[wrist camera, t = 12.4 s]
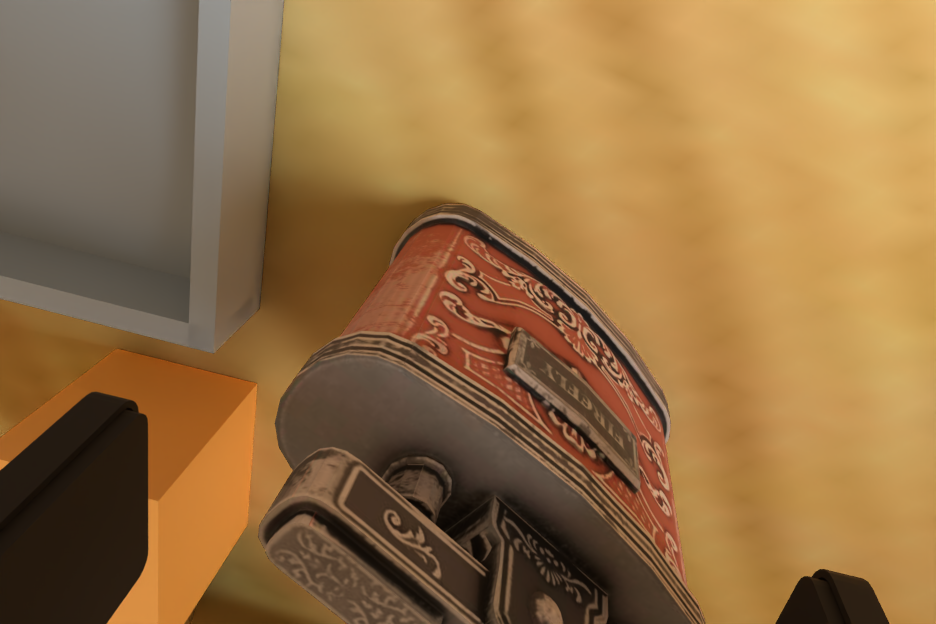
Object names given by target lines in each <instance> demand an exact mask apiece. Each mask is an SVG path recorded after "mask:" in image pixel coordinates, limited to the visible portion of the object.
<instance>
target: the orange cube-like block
mask: <svg viewBox="0 0 936 624" xmlns="http://www.w3.org/2000/svg"><path fill="white" fill-rule="evenodd" d="M91 392H100V393H104V394H108V395H113V396H117V397H121V398H125V399H129V400H132V401H134V402H136V404H137V406H138V411H139V413H142V414H145V415H146V416H147V418H148V557H147V561H146V564H145V567H144V570H143V572H142V574H141V576H140V577H139V579H138V580H137V582H136V583H135V585H134V586H133V587H132V589H131V590H130V592H129V593H128V594H127V596H126V597H125V599H124V600H123V601H122V603H121V604H120V606H119V607H118V609H117V610H116V611H115V613H114V614H113V616H112V617H111V618H110V620H109V621H108V623H107V624H184V623H185V622H186V620H187V619H188V617H189V616H190V614H191V613H192V611H193V609H194V608H195V606H196V605H197V603H198V602H199V600H200V598H201V597H202V595H203V594H204V592H205V591H206V589H207V588H208V586H209V584H210V583H211V581H212V580H213V578H214V577H215V575H216V573H217V572H218V570H219V569H220V567H221V566H222V564H223V563H224V561H225V559H226V558H227V556H228V555H229V553H230V552H231V550H232V548H233V547H234V545H235V544H236V542H237V541H238V539H239V538H240V536H241V534H242V533H243V531H244V530H245V528H246V527H247V525H248V511H249V497H250V482H251V468H252V454H253V440H254V426H255V411H256V397H257V383H253V382H249V381H245V380H241V379H237V378H233V377H229V376H225V375H221V374H217V373H213V372H209V371H205V370H201V369H197V368H193V367H189V366H185V365H181V364H177V363H173V362H169V361H165V360H161V359H157V358H153V357H149V356H145V355H141V354H137V353H133V352H129V351H125V350H121V349H115V350H114V351H113V352H112V353H110V354H109V355H108V356H106V357H105V358H104V359H102V360H101V361H100V362H98V363H97V364H96V365H95V366H93V367H92V368H91V369H89V370H88V371H87V372H85V373H84V374H83V375H81V376H80V377H79V378H78V379H76V380H75V381H74V382H72V383H71V384H70V385H68V386H67V387H66V388H64V389H63V390H62V391H60V392H59V393H58V394H57V395H55V396H54V397H53V398H51V399H50V400H49V401H47V402H46V403H45V404H43V405H42V406H41V407H40V408H38V409H37V410H36V411H34V412H33V413H32V414H30V415H29V416H28V417H26V418H25V419H24V420H23V421H21V422H20V423H19V424H17V425H16V426H15V427H13V428H12V429H11V430H9V431H8V432H7V433H6V434H4V435H3V436H2V437H0V470H1V469H2V468H4V467H5V466H6V465H7V464H8V463H9V462H10V461H12V460H13V459H14V458H15V457H16V456H17V455H18V454H20V453H21V452H22V451H23V450H24V449H25V448H26V447H28V446H29V445H30V444H31V443H32V442H33V441H34V440H36V439H37V438H38V437H39V436H40V435H41V434H42V433H44V432H45V431H46V430H47V429H48V428H49V427H50V426H52V425H53V424H54V423H55V422H56V421H57V420H58V419H60V418H61V417H62V416H63V415H64V414H65V413H66V412H68V411H69V410H70V409H71V408H72V407H73V406H74V405H76V404H77V403H78V402H79V401H80V400H81V399H82V398H84V397H85V396H86V395H88V394H89V393H91Z"/></svg>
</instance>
